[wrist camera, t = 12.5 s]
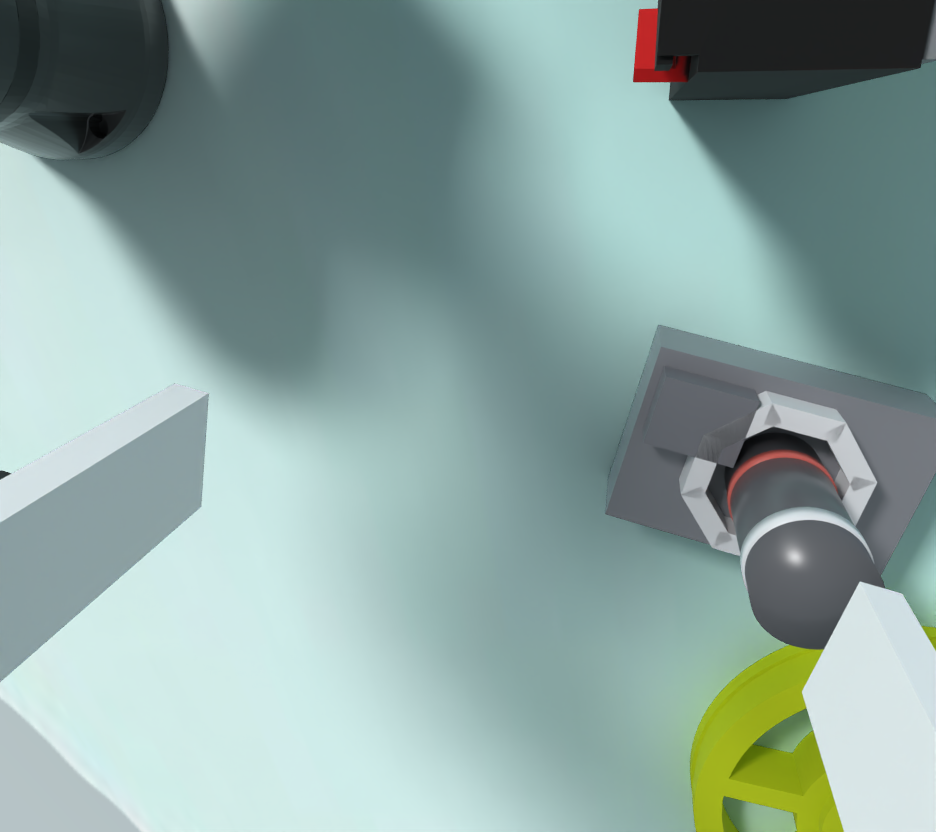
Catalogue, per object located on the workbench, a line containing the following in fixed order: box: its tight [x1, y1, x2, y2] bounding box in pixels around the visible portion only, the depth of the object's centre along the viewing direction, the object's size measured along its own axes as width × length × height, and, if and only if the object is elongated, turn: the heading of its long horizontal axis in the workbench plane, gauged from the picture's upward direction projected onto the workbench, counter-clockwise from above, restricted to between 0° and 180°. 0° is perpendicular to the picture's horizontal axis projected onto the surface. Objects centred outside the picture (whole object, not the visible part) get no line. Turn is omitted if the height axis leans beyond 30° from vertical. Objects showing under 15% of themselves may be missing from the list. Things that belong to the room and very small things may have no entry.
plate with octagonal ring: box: [605, 325, 936, 576], centre depth 42 cm, size 16×11×7 cm
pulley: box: [690, 626, 936, 832], centre depth 51 cm, size 28×28×5 cm
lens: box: [724, 433, 885, 650], centre depth 36 cm, size 5×5×12 cm
